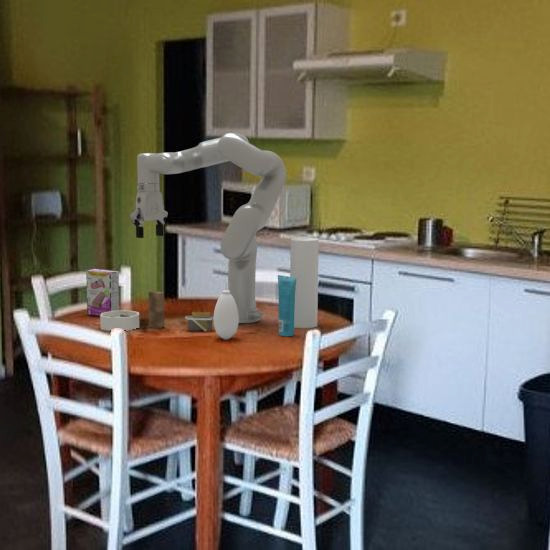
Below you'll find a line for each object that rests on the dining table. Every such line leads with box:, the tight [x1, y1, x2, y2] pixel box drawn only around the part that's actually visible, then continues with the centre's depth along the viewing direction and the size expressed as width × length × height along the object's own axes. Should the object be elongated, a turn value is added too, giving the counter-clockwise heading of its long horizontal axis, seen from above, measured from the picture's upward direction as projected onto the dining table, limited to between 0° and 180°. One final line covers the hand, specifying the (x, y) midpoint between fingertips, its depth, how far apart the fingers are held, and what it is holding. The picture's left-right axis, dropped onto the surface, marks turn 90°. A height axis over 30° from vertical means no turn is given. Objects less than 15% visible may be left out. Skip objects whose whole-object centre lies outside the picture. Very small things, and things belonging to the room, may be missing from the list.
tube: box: [277, 274, 297, 337], centre depth 259 cm, size 7×5×19 cm, turn 57°
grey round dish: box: [99, 309, 140, 332], centre depth 270 cm, size 13×13×4 cm
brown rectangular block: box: [148, 290, 165, 329], centre depth 269 cm, size 4×2×12 cm, turn 55°
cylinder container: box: [289, 236, 320, 329], centre depth 273 cm, size 9×9×30 cm
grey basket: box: [184, 311, 214, 332], centre depth 265 cm, size 12×18×7 cm, turn 88°
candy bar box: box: [85, 268, 120, 318], centre depth 288 cm, size 11×5×16 cm, turn 63°
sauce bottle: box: [213, 282, 240, 340], centre depth 253 cm, size 8×8×18 cm
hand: (150, 236), depth 288 cm, fingers open, 9 cm apart
